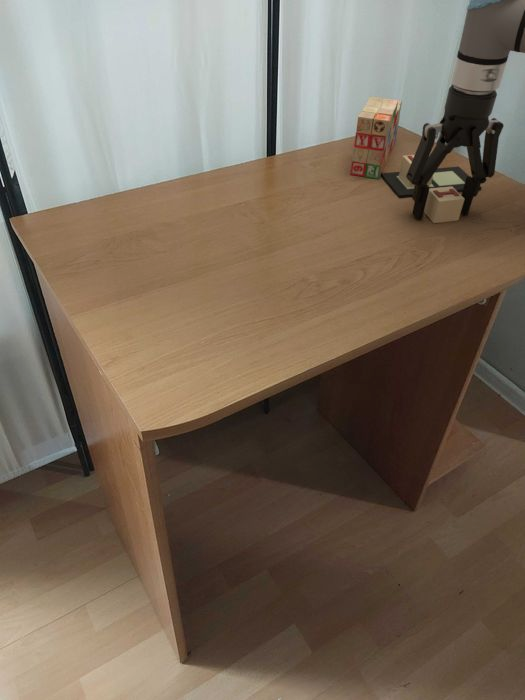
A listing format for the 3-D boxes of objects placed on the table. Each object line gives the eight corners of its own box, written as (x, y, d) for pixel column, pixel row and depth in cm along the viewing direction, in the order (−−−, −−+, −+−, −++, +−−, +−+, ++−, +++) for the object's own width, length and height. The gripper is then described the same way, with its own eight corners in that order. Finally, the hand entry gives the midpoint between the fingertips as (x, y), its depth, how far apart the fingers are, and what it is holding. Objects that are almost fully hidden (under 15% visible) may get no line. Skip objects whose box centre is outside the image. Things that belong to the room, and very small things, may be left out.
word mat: (481, 190, 109) (482, 186, 109) (398, 198, 107) (399, 194, 106) (458, 168, 117) (458, 165, 116) (380, 175, 114) (380, 172, 113)
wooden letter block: (446, 207, 104) (452, 185, 101) (458, 220, 100) (465, 197, 97) (422, 210, 103) (427, 187, 100) (433, 223, 100) (439, 200, 96)
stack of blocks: (369, 137, 128) (377, 82, 120) (395, 141, 127) (405, 86, 119) (349, 174, 114) (357, 115, 105) (379, 179, 112) (389, 119, 104)
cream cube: (431, 185, 109) (436, 163, 106) (408, 187, 108) (412, 165, 105) (420, 174, 113) (425, 152, 110) (398, 176, 112) (402, 154, 109)
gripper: (421, 99, 82) (394, 230, 97) (546, 91, 85) (501, 218, 101) (402, 83, 87) (379, 209, 102) (520, 76, 90) (481, 199, 106)
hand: (439, 214), depth 102 cm, fingers open, 9 cm apart
